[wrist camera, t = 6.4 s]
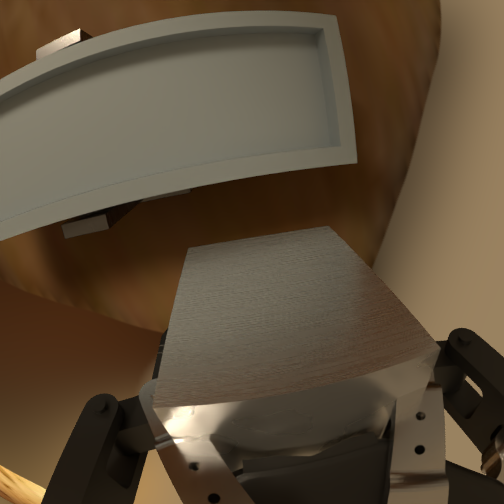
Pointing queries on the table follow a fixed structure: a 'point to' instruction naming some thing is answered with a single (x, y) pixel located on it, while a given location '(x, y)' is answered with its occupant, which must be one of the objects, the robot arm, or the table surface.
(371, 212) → the table surface
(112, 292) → the table surface
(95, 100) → the beam
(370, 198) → the table surface
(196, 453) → the robot arm
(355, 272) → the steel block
